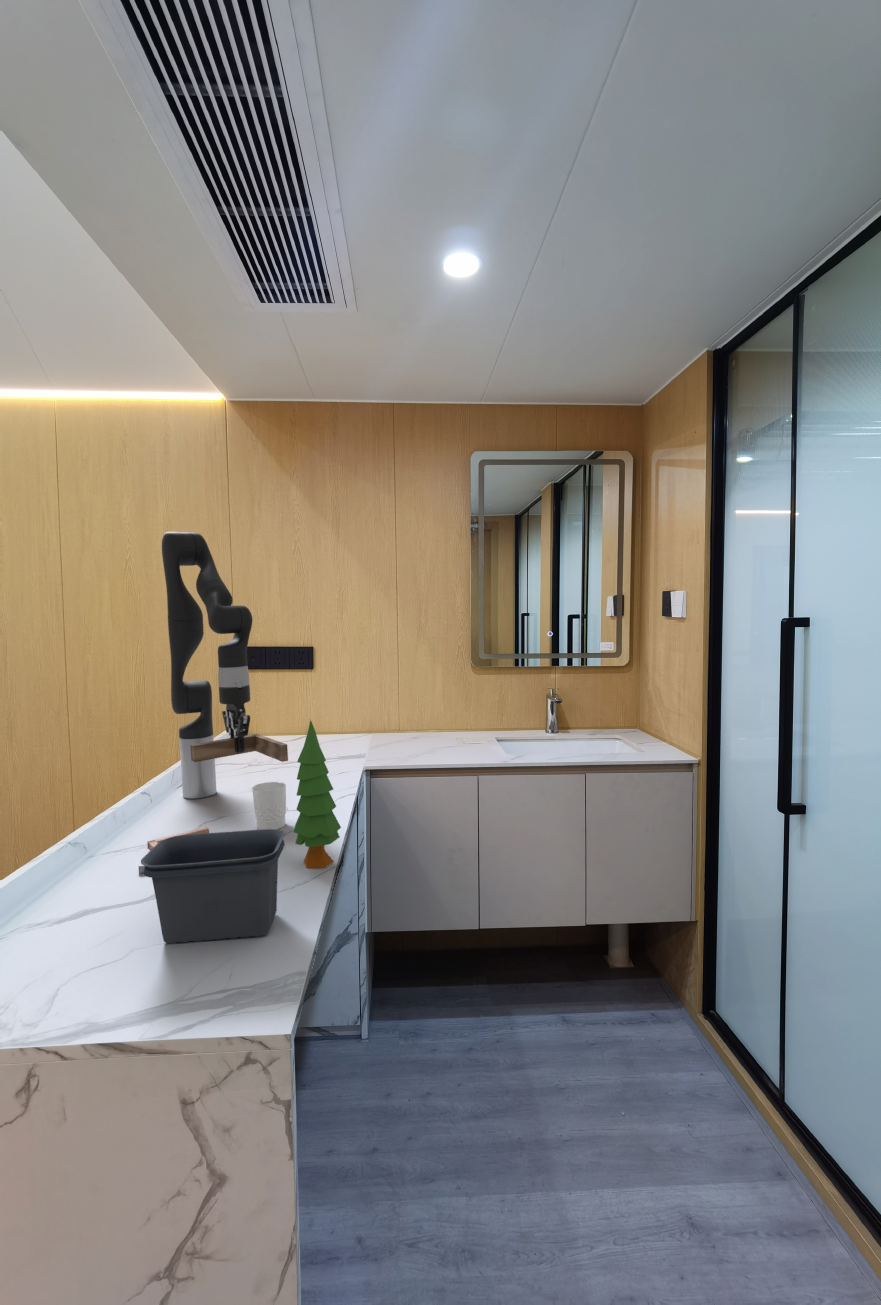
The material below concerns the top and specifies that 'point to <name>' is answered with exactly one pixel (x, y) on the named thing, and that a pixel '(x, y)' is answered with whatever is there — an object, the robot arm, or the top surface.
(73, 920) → the top surface
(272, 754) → the wooden l-shaped bracket
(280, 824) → the white cup
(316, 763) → the decorative tree
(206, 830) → the corral frame
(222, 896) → the storage bin
